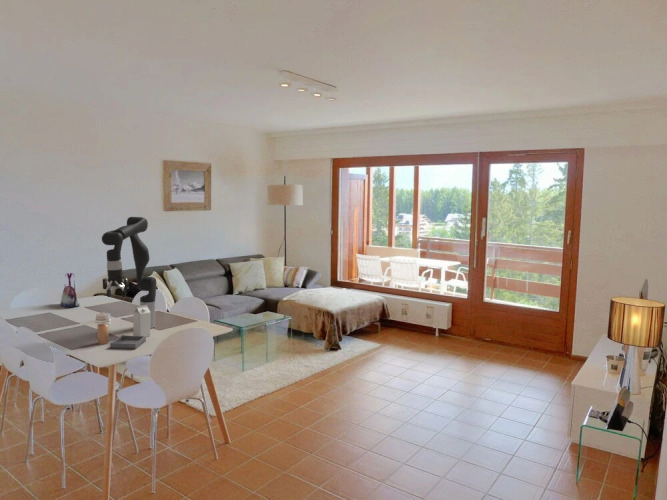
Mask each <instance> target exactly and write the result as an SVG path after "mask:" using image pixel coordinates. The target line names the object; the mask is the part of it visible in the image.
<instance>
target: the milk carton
mask: <svg viewBox="0 0 667 500" xmlns="http://www.w3.org/2000/svg"><path fill="white" fill-rule="evenodd" d="M132 313H133V314H132V315H133V318H132V322H133V325H132V328H133V329H132V331H133V332H132V333H133V334H132V336H146V338H147V337H151V328H150V322H151V312H150V310H149V309H148V307H147V305H143V306H140V305H138V306H136V309H135V310H133V312H132Z"/></svg>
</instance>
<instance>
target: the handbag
mask: <svg viewBox="0 0 667 500" xmlns="http://www.w3.org/2000/svg"><path fill="white" fill-rule="evenodd" d="M66 276H67V278H68V285H67V286H66V285H65V286H64V288H63V291H62V293H61V294H62V295H61V299H60V306H61V307H64V308H65V309H68V308H72V307H80V302H79V298H78V294H77V292H76V284H75V281H73V286H72V281H71V279H72V276H73V277H75V274H74V273H73V272H70V273H66V274H65V276H64V277H66Z"/></svg>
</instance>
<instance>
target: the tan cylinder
mask: <svg viewBox="0 0 667 500" xmlns="http://www.w3.org/2000/svg"><path fill="white" fill-rule="evenodd" d="M108 344H109V323H105V322H104V323H98V324H97V345H100V346H101V345H108Z"/></svg>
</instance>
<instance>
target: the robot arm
mask: <svg viewBox="0 0 667 500" xmlns="http://www.w3.org/2000/svg"><path fill="white" fill-rule="evenodd" d="M148 225H149V223H148V219H146V218H145V217H143V216H129V217H127V219H126V225H123V226H120V227H118V228H116V229H113V230H110V231H107V232H104V233H103V235H102V236H101V242H102V244H104V245H106V246H113V248H112V249H108V250H106V267H107V268H106V270H107V271H106V272H107V277H104V278H102V290H105V291H106V296H107V297H108V298H110V297H112V291H111V289H112V287H118V288H119V289H121V297H122V298H125V297H126V296H127V290H129V289H130V285H129V284H130V283H129V278H128V277H127V278H123V265H122V264H123V263H122V255H121V251H122V247H123V243H124V240H127V239H128V238H129V239H130V244H131V251H132V257H133V260H134V265H135V270H136V271H135V272H136V283H137V288H138V290H139V291H142V292H144V291H146V292H148V293H147V294H145V295H142V296H141V297H140V298H139V306H143V305H147V307H148V309H149V310H150V312H151V322H150V329H153V327H154V328H155V327H156V298H157V297H156V296H157V295H156V294H157V279H156V277H154V276H145V273H144V271H145V269H146V267H147V265H148V264H149V262H150V253H149V248H148V247H147V245H146V244H145V243H144V242H143V241H142V240H141V238H140V237H139V233H144V232H146V231H147V229H148V227H149V226H148Z"/></svg>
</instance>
